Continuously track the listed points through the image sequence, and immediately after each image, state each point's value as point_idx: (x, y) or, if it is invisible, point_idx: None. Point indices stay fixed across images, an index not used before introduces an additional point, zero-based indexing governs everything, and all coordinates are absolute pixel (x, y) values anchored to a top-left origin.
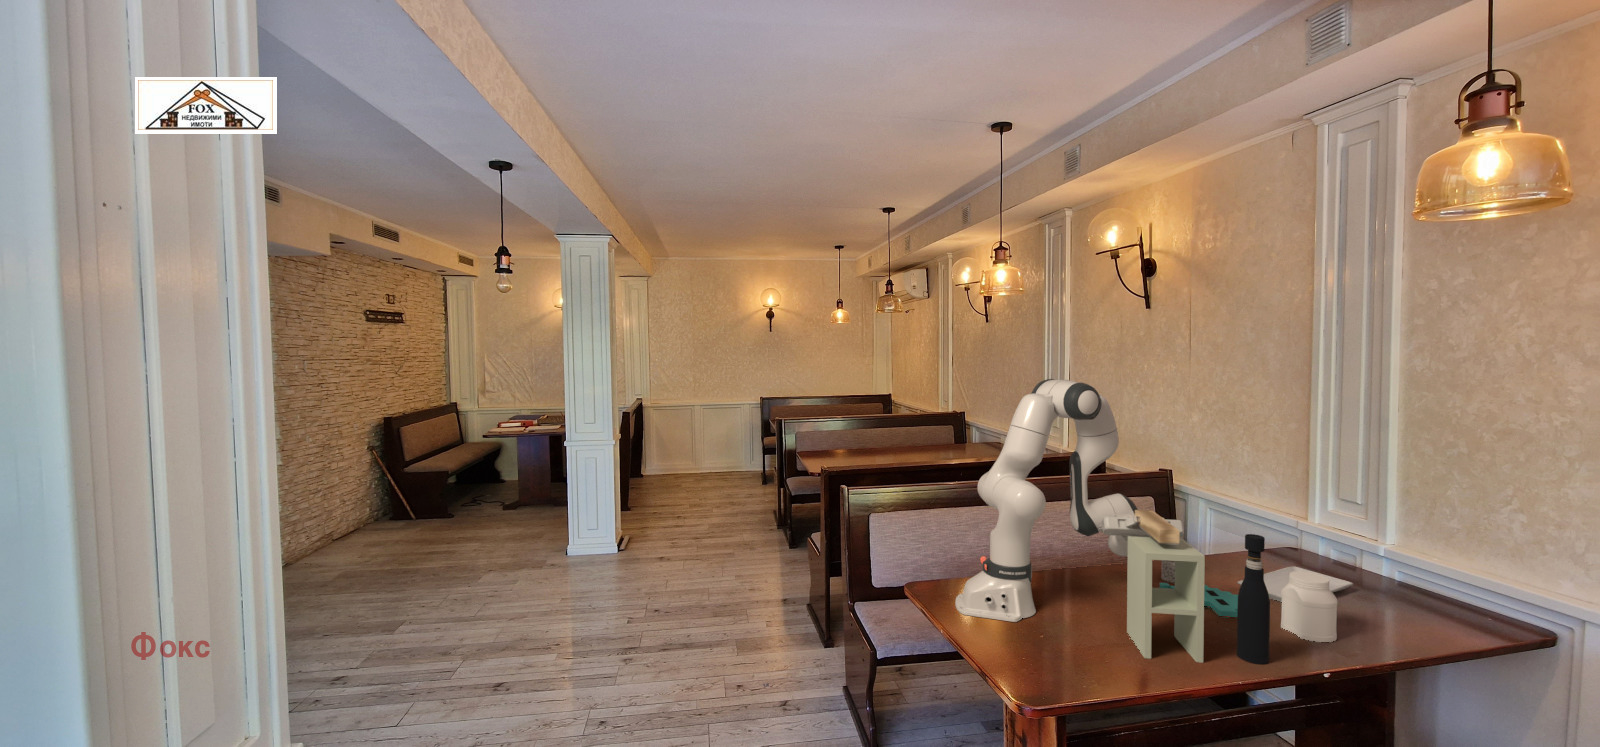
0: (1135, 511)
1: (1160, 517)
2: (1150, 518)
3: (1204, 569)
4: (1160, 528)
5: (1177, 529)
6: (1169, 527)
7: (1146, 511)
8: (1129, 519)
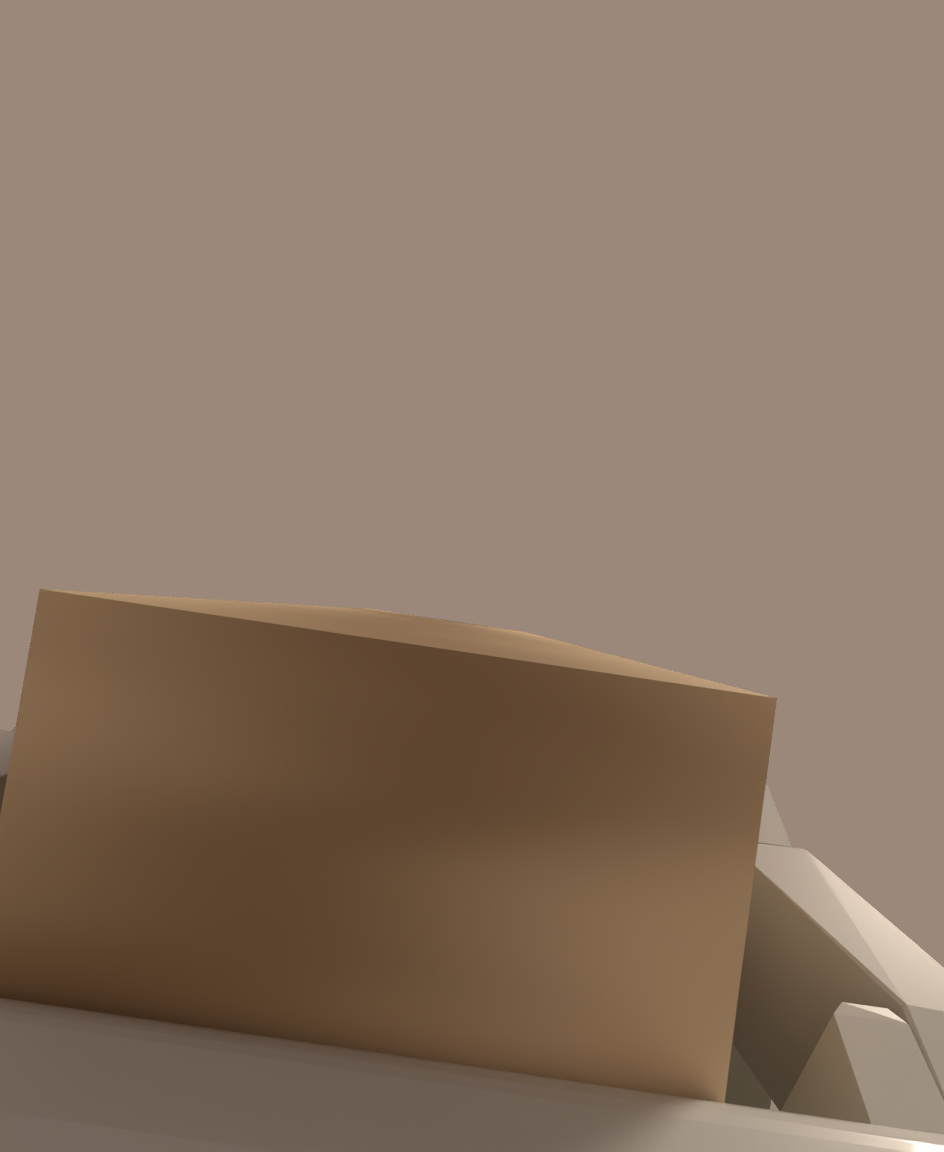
0: (741, 731)
1: (305, 607)
2: (500, 634)
3: None
4: (507, 629)
5: (373, 609)
6: (415, 616)
7: (373, 631)
8: (869, 950)
